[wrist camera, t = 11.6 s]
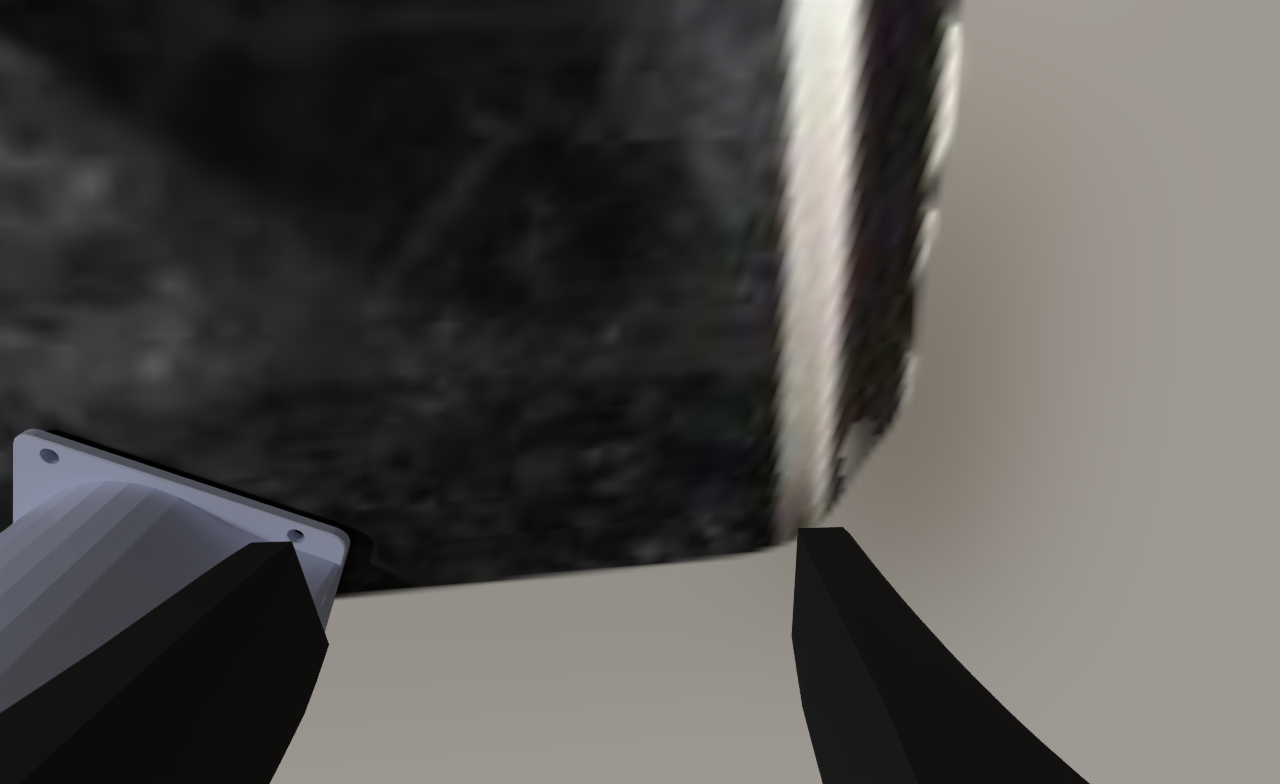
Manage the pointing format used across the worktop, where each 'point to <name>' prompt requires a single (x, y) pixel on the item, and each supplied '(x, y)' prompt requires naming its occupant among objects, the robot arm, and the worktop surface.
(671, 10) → the worktop surface
